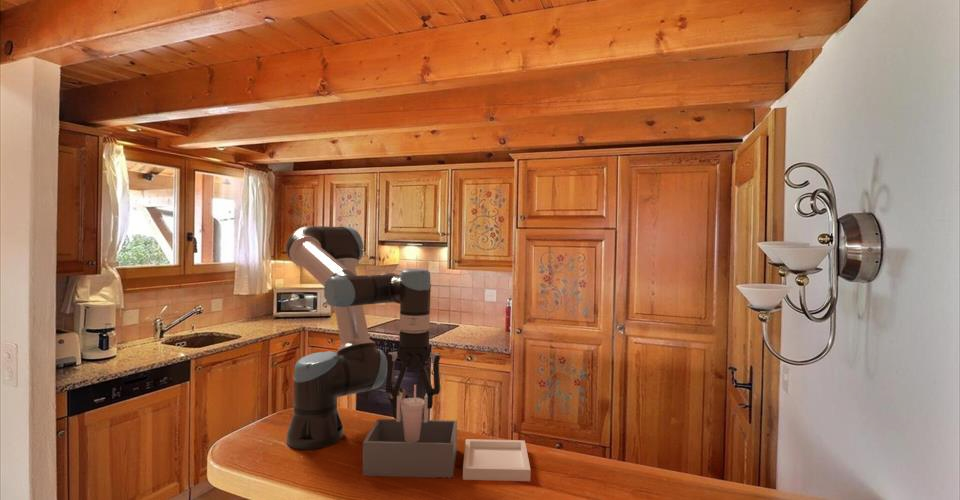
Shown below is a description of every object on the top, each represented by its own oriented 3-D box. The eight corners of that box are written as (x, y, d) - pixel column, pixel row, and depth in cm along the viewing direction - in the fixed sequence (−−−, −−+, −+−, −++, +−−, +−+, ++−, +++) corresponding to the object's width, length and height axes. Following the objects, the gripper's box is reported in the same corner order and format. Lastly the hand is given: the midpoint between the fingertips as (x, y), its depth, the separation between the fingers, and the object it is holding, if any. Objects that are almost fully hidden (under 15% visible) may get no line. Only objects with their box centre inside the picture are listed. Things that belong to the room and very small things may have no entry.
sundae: (382, 431, 134) (383, 381, 133) (401, 425, 139) (401, 376, 138) (396, 438, 129) (397, 386, 129) (414, 431, 134) (415, 381, 134)
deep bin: (362, 475, 108) (363, 442, 108) (377, 448, 123) (377, 418, 123) (452, 477, 108) (453, 444, 108) (456, 449, 123) (457, 420, 122)
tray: (462, 479, 107) (462, 468, 107) (465, 448, 123) (465, 439, 123) (530, 481, 107) (530, 469, 107) (524, 450, 123) (524, 440, 123)
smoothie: (419, 446, 112) (421, 390, 111) (395, 443, 113) (396, 387, 113) (427, 435, 118) (429, 382, 118) (404, 432, 119) (405, 380, 119)
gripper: (373, 332, 111) (371, 424, 112) (451, 334, 111) (448, 427, 112) (380, 326, 119) (378, 413, 119) (453, 328, 119) (451, 415, 119)
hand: (412, 419), depth 116 cm, fingers closed on smoothie, 6 cm apart
